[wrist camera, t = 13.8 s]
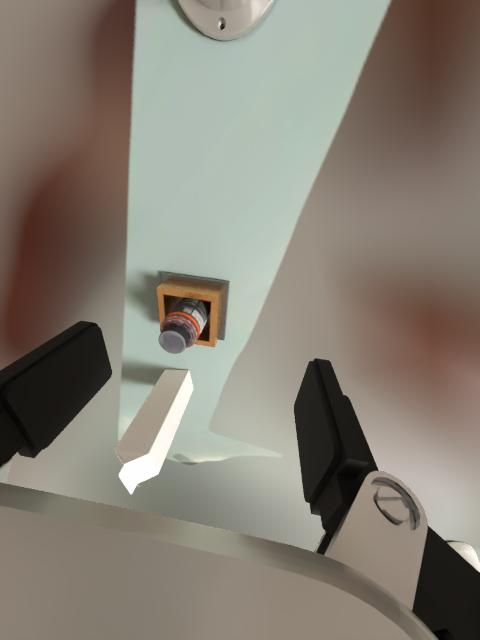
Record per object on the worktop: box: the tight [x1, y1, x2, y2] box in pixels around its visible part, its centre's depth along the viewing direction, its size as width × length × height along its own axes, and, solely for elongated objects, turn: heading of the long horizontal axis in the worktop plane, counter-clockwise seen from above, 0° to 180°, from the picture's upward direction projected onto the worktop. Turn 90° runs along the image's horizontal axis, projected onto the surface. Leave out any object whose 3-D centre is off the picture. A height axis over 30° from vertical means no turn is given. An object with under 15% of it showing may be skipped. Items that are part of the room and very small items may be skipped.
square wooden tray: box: [157, 272, 230, 347], centre depth 38 cm, size 12×12×5 cm
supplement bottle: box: [159, 297, 210, 354], centre depth 35 cm, size 6×6×11 cm
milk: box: [114, 369, 193, 494], centre depth 41 cm, size 6×6×22 cm
